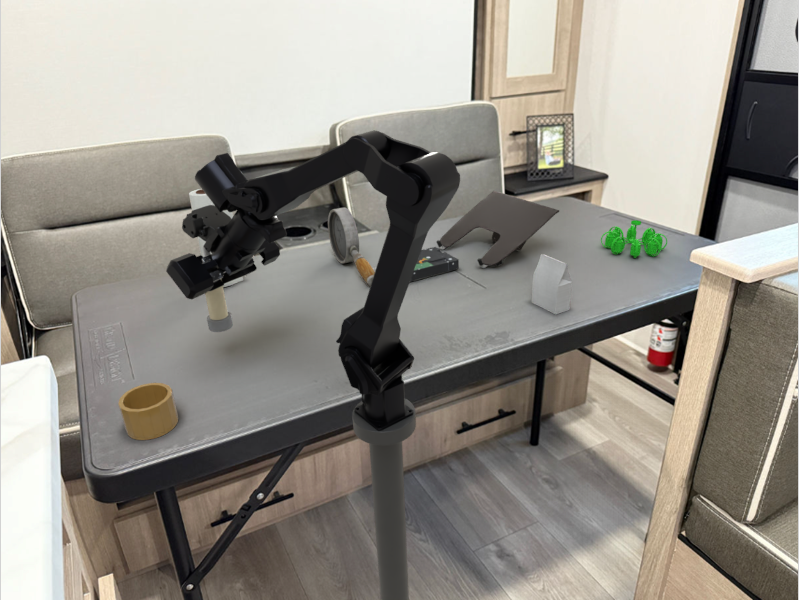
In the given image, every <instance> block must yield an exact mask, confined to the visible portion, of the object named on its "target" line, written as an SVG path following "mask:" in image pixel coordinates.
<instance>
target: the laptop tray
mask: <svg viewBox="0 0 799 600" xmlns="http://www.w3.org/2000/svg"><path fill="white" fill-rule="evenodd" d="M558 213H560V209H556V208H554V207H550V206H548V205H547V206H546V205H543V204H540V203H537V202H533V201H529V200H526V199H524V198H520V197H517V196H513V195H509V194H508V193H507V194H506V193H503V192H501V191H496V190H492V192H490V193H489V194H487V195H486V196H485V197H484V198H483V199H482V200H480V201H479V202H478V203H477V204H475V206H473V207H472V208H471V209H469V211H468V212H467V213H465V214H464V215H463V216H462V217H461V218H460V219H459V220H458V221H457V222H456V223H454V224H453V225H452V226H451V227H450V228H449V229H448V230H447V231H446V232H445V233H444V234H443V235H442V236H441V237H440V239H438V240H436V244H437V247H438V249H440V251H443V250H445V249H447V248H450V247H452V246H453V245H454V244H456V243H457V242H459V241H460V240H462V239H463V238H465V236H467V235H468V234H470V233H471V232H472V231H474V230H475V229H478V228H480V229H484V230H488V231H489V232H492V236H491V240H492V241H493V242H495V243H494V244H493V245H492V246H490V248H489V249H488V250H487V251H486V252H485V254H484V255H483V256H482V257H481V258H477V263H478V265H479V267H480V268H481V269H485V268H487V267H488V266H496V267H498V266H500V265H503V264H504V259H506V258H507V257H508V256H510V255H511V254H513V253H514V252H515V251H518V252H519V251H521V250H522V249H523V248H524V246H525V244H526V242H527V241H528V240H529V239H530V238H531V237H533V236H534V235H535V234H536V233H537V232H538V231H539V230H541V228H543V227H544V226H545V225H546V224H547V223H548V222H549V221H550V220H551V219H552V218H553V217H554V216H555V215H557V214H558Z"/></svg>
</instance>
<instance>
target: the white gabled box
mask: <svg viewBox="0 0 799 600" xmlns="http://www.w3.org/2000/svg"><path fill="white" fill-rule="evenodd" d="M531 286H532V287H531V288H532V289H531V304H534V305H536V306H538V307H540V308H541V309H544V310H545V311H548V312H550V313H552V314H554V315H559V314H562V313H565V312H567V311H570V307H571V299H572V298H571V297H572V287H573V280H572V278H571V273H570V270H569V265H568V263H567V262H564V261H561V260H559V259H557V258H554V257H551V256H549V255H546V254H544V253H541V254H540V257H539V260H538V263H537V265H536V267H535V270H534V272H533V275H532V285H531Z"/></svg>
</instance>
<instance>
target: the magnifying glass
mask: <svg viewBox="0 0 799 600" xmlns="http://www.w3.org/2000/svg"><path fill="white" fill-rule="evenodd" d="M327 233H328V237H329V244H330V246H331V250H332V252H333V255H334V257H335V259H336V260H337V261H338V263H340V264H347V263H352V262H354V264H355V267H356V269H357V271H358V272H359V273H358V274H360V275H361V277H362V279H363V280H364V281H365V282H366V284H367V285H368V286H369V287H370V286H371V283H372V280H373V277H374V274H375V270H374V268H373V267H372V265H371V264H370V263H369V261H368V260H367V258H365V257H364V256H363V255H362V254H361V253H360V238H359V231H358V227H357V223H356V221H355V218H354V216H353V214H352V212H351V211H350V209H348V208H347V207H338V208H333V209H331V210H330V211H329V213H328V217H327Z"/></svg>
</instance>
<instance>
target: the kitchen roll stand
mask: <svg viewBox="0 0 799 600" xmlns="http://www.w3.org/2000/svg"><path fill="white" fill-rule="evenodd" d="M203 251H204V256H205V257H206V256H208V255H211V253H210V252H207V250H206V249H205V248H204V247H203ZM220 280H221V281H222V279H220ZM204 295H205V300H206V306H207V311H208V315H207V317H206V321H207V327H208V330H209V331H210V332H213V333H222V332H226V331H229V330H231V329H232V328H233V326H234V323H233V317H232V313H231V312H230V311H228V306H227V301H226V295H225V290H224V287H223V286H221V287H219V288H217V289H215V290H213V291H208V292H206V293H205V294H204Z"/></svg>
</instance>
